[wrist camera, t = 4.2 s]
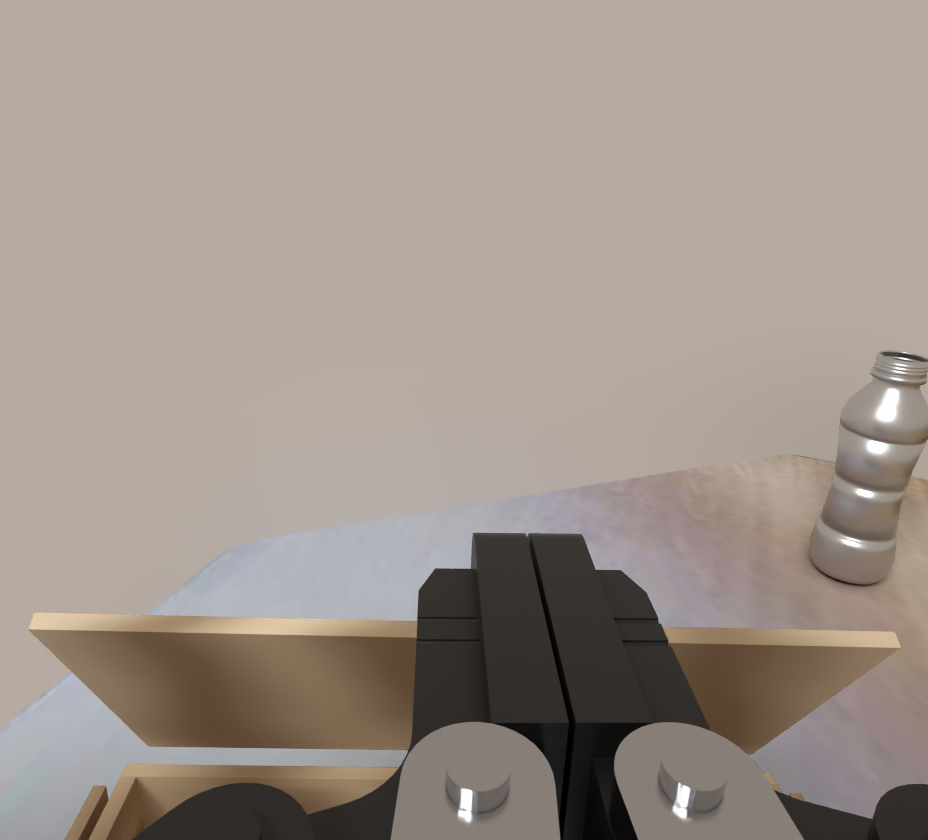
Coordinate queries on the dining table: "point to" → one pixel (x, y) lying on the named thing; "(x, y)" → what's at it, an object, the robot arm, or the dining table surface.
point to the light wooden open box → (165, 786)
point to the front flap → (397, 677)
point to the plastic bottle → (872, 471)
